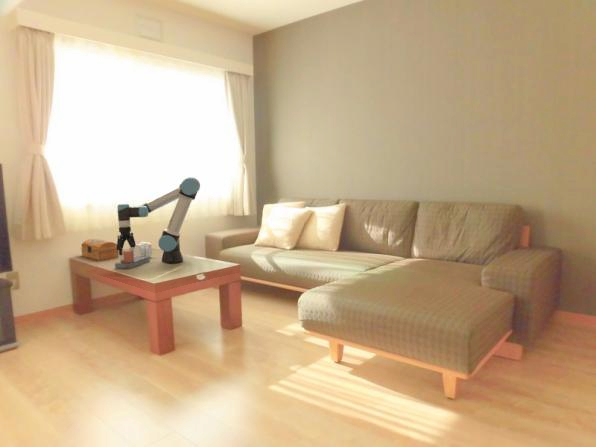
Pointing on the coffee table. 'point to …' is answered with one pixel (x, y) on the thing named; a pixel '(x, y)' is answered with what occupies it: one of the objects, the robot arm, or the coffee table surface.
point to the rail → (136, 262)
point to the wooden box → (99, 249)
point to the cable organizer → (143, 249)
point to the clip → (128, 256)
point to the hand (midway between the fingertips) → (127, 258)
